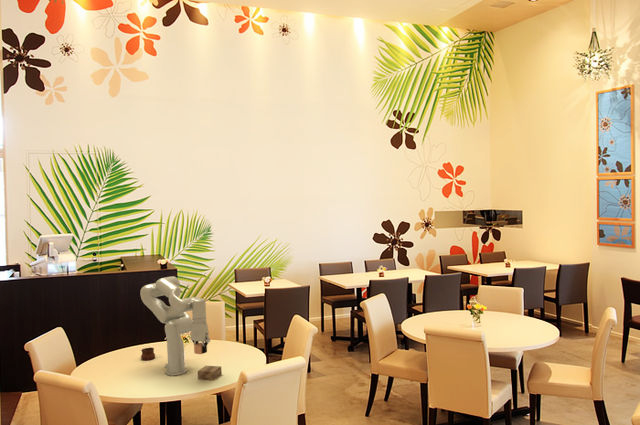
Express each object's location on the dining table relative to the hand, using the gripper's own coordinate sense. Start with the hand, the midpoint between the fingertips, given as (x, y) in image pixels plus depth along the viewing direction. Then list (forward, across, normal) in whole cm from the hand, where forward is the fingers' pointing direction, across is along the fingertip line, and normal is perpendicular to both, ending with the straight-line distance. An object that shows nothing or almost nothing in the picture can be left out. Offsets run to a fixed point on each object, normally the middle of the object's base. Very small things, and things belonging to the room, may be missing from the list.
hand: (200, 351), depth 298 cm
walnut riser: (+16, +1, +5) cm, 17 cm away
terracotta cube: (+1, 0, 0) cm, 1 cm away
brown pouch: (+15, -61, +13) cm, 64 cm away
